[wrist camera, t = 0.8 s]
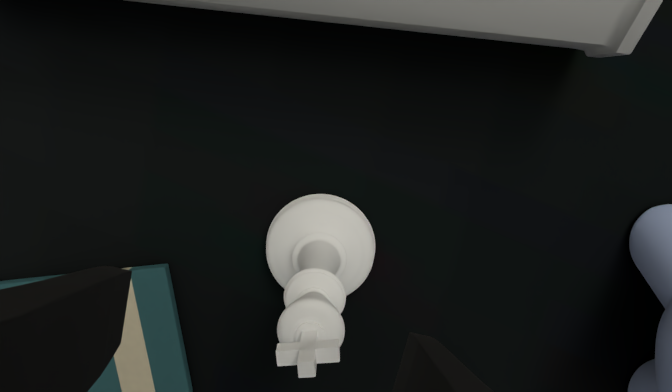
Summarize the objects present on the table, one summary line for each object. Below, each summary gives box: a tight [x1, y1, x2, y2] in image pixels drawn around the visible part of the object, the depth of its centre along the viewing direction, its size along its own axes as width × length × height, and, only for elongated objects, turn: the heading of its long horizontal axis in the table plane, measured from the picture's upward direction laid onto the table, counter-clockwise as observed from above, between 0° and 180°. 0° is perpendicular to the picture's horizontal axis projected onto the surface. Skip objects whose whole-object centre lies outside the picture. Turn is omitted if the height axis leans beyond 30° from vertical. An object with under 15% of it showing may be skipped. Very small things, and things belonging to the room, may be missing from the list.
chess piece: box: [266, 194, 375, 378], centre depth 18 cm, size 5×5×10 cm
